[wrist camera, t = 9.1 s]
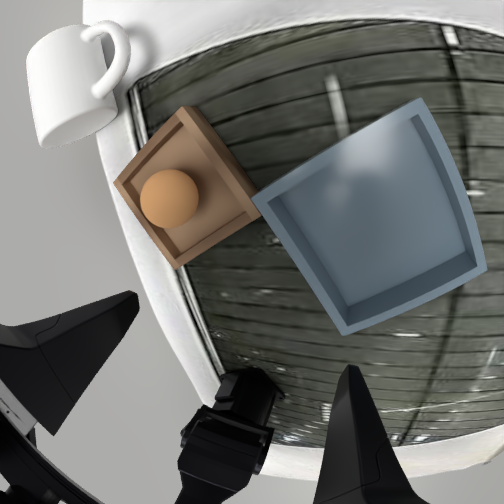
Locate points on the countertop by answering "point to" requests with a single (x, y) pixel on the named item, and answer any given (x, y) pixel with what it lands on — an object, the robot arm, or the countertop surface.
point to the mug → (75, 81)
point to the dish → (377, 219)
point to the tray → (204, 176)
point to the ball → (169, 198)
